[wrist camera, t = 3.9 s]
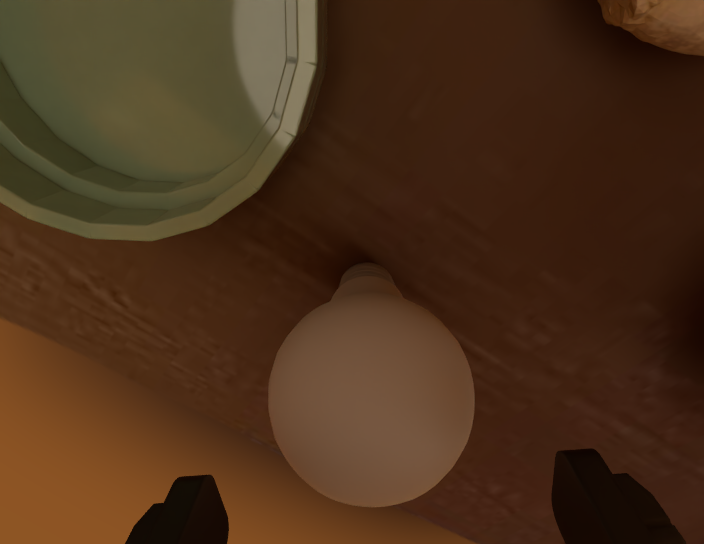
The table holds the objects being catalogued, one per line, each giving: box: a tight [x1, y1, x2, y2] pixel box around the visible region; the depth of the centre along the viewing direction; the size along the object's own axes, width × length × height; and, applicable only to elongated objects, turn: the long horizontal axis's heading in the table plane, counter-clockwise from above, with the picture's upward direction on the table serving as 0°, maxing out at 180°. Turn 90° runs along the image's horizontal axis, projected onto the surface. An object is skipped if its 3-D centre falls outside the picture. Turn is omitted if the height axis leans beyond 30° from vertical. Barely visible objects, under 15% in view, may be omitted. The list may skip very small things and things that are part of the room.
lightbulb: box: [268, 262, 475, 507], centre depth 15 cm, size 6×6×11 cm
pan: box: [0, 0, 328, 241], centre depth 14 cm, size 14×14×4 cm
